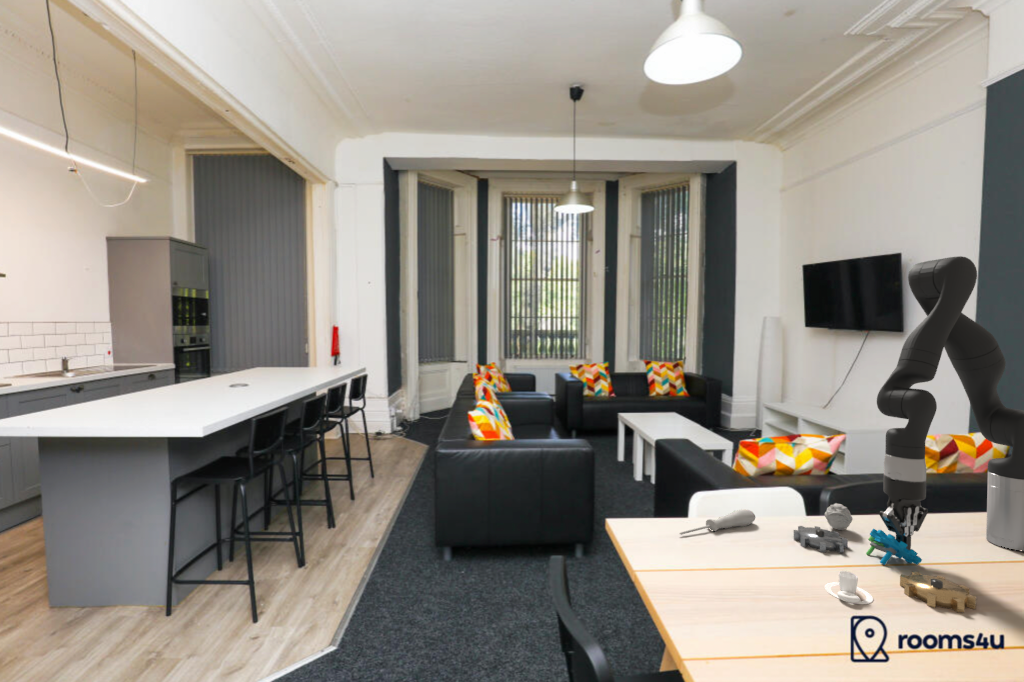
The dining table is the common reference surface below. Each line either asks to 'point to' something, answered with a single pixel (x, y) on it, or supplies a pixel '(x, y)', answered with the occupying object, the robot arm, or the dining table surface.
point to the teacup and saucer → (848, 589)
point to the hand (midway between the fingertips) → (903, 550)
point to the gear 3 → (937, 591)
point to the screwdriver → (728, 521)
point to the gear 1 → (820, 539)
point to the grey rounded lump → (838, 516)
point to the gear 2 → (891, 547)
